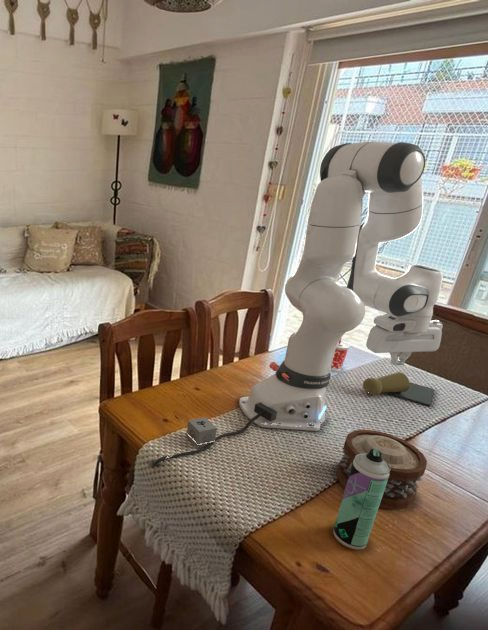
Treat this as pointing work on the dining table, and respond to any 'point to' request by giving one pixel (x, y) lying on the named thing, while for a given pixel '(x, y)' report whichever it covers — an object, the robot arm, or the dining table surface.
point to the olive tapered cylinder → (387, 384)
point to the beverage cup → (339, 356)
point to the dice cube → (201, 431)
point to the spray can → (361, 499)
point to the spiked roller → (400, 458)
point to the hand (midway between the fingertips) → (396, 364)
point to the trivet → (415, 394)
